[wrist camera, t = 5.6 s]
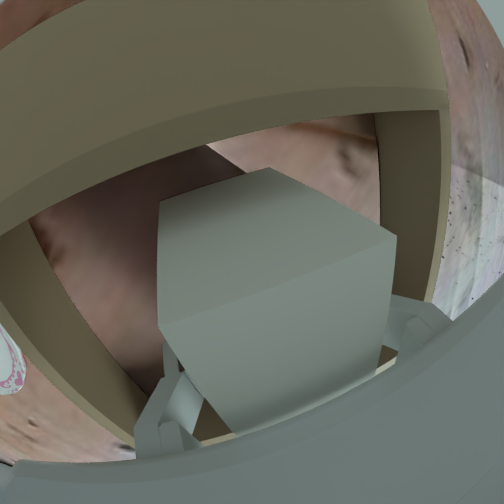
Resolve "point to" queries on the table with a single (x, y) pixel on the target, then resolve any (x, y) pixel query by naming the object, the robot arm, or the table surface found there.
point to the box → (271, 295)
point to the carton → (204, 140)
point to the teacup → (10, 365)
